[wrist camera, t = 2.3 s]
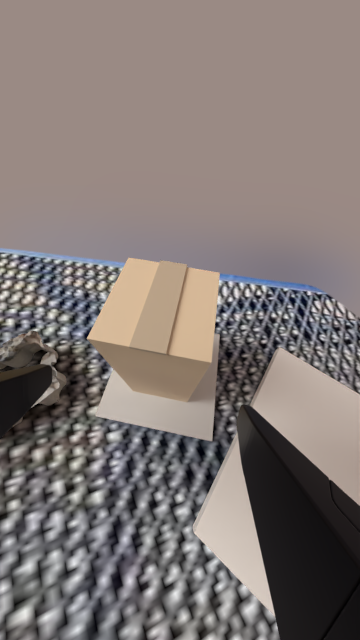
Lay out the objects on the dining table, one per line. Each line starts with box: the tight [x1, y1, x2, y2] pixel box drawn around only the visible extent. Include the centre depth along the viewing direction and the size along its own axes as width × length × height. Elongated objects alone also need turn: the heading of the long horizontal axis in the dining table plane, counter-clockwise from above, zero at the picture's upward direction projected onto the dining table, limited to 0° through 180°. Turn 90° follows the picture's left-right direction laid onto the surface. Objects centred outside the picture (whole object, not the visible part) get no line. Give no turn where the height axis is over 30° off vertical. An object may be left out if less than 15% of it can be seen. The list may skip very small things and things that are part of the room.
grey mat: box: [95, 334, 220, 441], centre depth 20 cm, size 11×11×1 cm
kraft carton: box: [87, 258, 220, 402], centre depth 14 cm, size 6×6×12 cm
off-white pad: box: [193, 348, 360, 616], centre depth 15 cm, size 18×14×1 cm
